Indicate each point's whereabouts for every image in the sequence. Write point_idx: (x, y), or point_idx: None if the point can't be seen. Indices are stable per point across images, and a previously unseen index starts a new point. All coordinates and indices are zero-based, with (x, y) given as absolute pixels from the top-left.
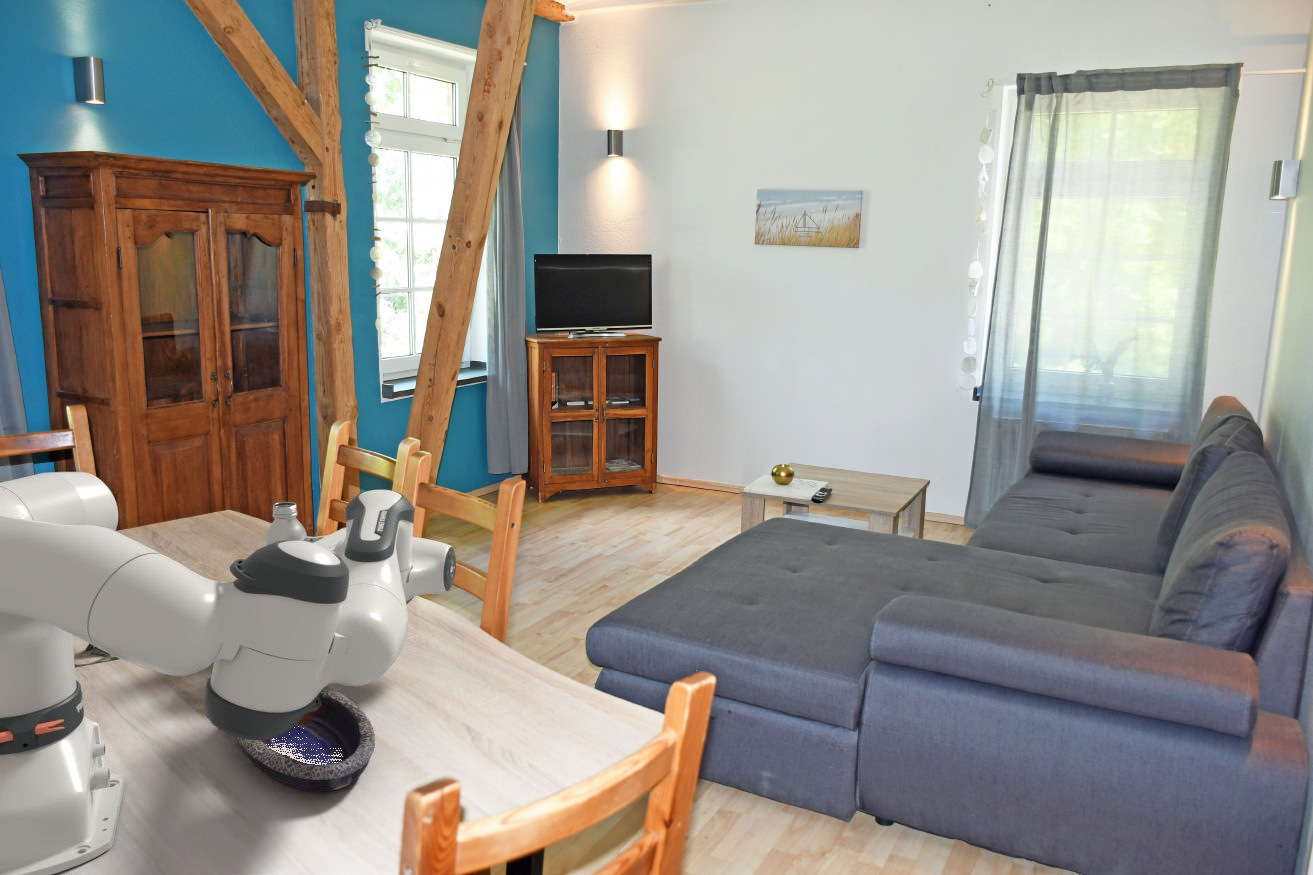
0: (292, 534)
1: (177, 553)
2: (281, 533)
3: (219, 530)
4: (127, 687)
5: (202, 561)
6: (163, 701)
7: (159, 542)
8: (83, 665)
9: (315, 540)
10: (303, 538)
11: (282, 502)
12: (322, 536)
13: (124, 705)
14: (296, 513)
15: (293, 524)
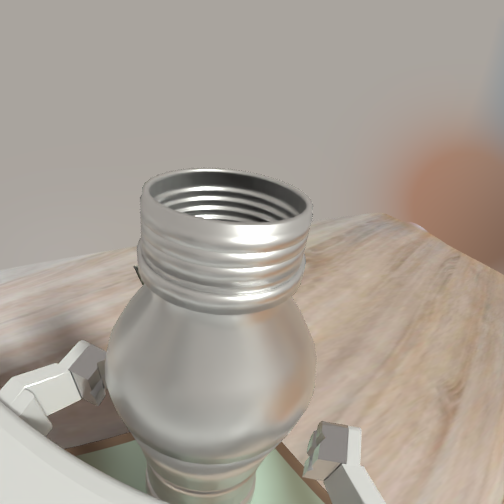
0: (118, 376)
1: (441, 277)
2: (118, 323)
3: (492, 287)
4: (63, 320)
5: (440, 297)
6: (9, 354)
7: (448, 262)
8: (140, 279)
9: (341, 480)
10: (167, 447)
11: (291, 187)
12: (370, 498)
13: (19, 323)
14: (209, 297)
15: (158, 342)
